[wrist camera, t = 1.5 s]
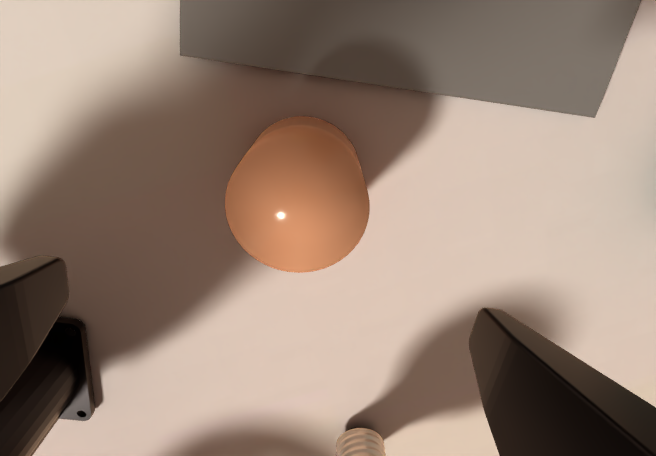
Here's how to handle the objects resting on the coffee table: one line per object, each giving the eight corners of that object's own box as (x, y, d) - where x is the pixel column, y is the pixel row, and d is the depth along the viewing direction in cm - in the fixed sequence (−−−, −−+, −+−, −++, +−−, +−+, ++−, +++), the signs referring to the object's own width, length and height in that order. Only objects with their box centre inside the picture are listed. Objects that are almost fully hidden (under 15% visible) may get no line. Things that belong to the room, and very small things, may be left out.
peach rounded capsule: (350, 231, 19) (356, 279, 15) (243, 218, 18) (222, 263, 15) (369, 125, 17) (381, 149, 13) (250, 108, 17) (228, 127, 13)
